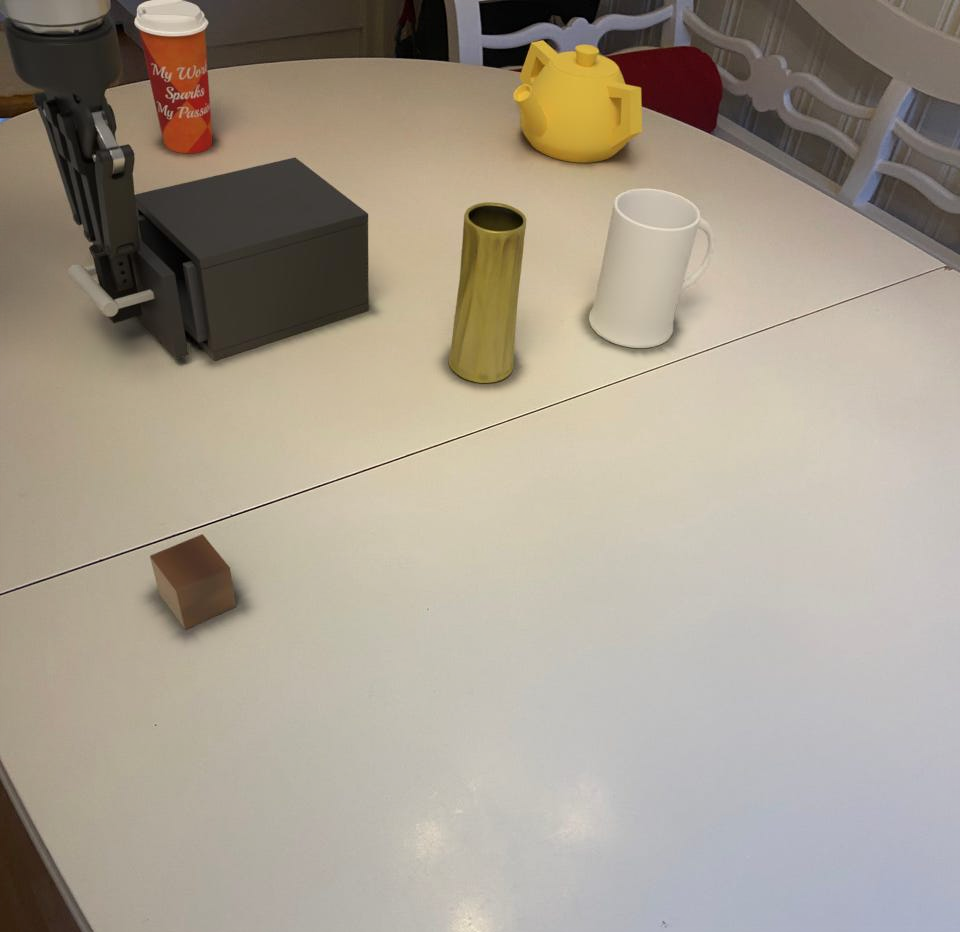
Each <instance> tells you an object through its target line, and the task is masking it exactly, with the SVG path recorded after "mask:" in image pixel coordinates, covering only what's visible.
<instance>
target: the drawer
mask: <svg viewBox="0 0 960 932" xmlns="http://www.w3.org/2000/svg"><path fill="white" fill-rule="evenodd" d="M137 224H138V235H139V245H140V250H139V251H137V252H133V253H130V257H131V261H132V266H133V271H134V276H135V281H136V285H137V290H138V293H136V294H132V295H129V296H125V297H122V298H118V299H115V300H113V299H112V298H111V297H110V296H109V295H108V294H107V292H106V291H105V290H104V289H103V288H102V287H101V286H100V285H99V282H98V281H97V280H96V279H95V278H94V277H93V276H96V275H97V273H96V269H95V265H94V264H92V265H88V266H85V267H84V266H83V265H82V264H79V263H73V264H72V265H71V266H70V267H69V268H68V275H69V277H70V278H71V280H73V282H74V283H75V284H76V285H77V286H78V287H79V288H80V289H81V291H83V292H84V294H85V295H86V296H87V297H88V298H89V299H90V301H91V302H92V303H93V304H94V305H95V306H96V307H97V308H98V310H100V312H101V313H102V314H103V315H104V316H105V317H107V318H109V317H112V316H114V315H116V314H117V312H118V309H120V308H123V307H127V306H130V305H134V304H137V303H140V305H141V310H142V314H143V315H140V316H137V317H136V318H138V320H140V321H141V323H143V324H144V326H145V327H146V328H147V329H148V330H149V331H150V332H151V333H152V335H154V336H155V338H157V340H158V341H159V342H160V343H161V344H162V346H163V347H165V348H166V349H167V351H168V352H169V353H170V354H171V355H172V356H173V357H174V358H175V359H176V360H178V359H182V358H184V357H188V356H189V348H188V343H187V337H186V331H185V330H184V328H185V329H186V330H187V331H188V332H189V333H190V334H191V335H192V336H193V337H194V338H195V339H196V340H197V341H198V342H202V341H205V340H207V333H206V326H205V320H204V313H203V306H202V300H201V293H200V286H199V280H198V273H197V265H196V264H195V263H194V262H193V261H192V260H191V259H190V258H189V257H188V256H187V255H186V254H185V253H184V252H182V251H181V250H180V249H179V248H178V247H177V246H176V245H175V244H174V243H173V242H172V241H171V240H170V239H169V238H168V237H167V236H166V235H165V234H164V233H163V232H162V231H161V230H160V229H159V228H157V227H156V226H155V225H154V224H153V223H152V222H151V221H150V220H149V219H148V218H147V217H146V216H145V215H140V216H137Z"/></svg>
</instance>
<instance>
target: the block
mask: <svg viewBox="0 0 960 932" xmlns="http://www.w3.org/2000/svg"><path fill="white" fill-rule="evenodd" d="M149 559H150V562H151V567H152V570H153V574H154V578H155V582H156V586H157V589H158V594H159V595H158V596H160V597H161V599H162V600H163V602H164V603H165V604H166V606H167V607H168V608H169V610H170V612H172V614H173V615H174V616H175V618H176V619H177V620H178V622H179V623H180V625H181V626H182V627H183V629H184V630H187V629H190V628H192V627H194V626H196V625H199V624H200V623H203V622H205V621H207V620H209V619H212V618H214V617H216V616H218V615H221V614H222V613H225V612H227V611H229V610H232V609H233V608H235V607H237V602H236V596H235V590H234V584H233V578H232V572H231V567H230V565H228V563H227V562H226V561H225V559H224V558H223V557H222V556H221V555H220V553H219V552H218V551H217V549H216V548H214V546H213V544H211V542H210V541H209V540H208V538H206V536H205V535H204V534H202V533H201V534H199V535H197V536H194V537H192V538H189V539H187V540H185V541H181V542H179V543H177V544H175V545H172V546H170V547H167V548H166V549H165V548H164V549H162V550H160V551H158V552H155V553H153V554H150V556H149Z"/></svg>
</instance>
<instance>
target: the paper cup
mask: <svg viewBox="0 0 960 932" xmlns="http://www.w3.org/2000/svg"><path fill="white" fill-rule="evenodd" d="M134 25H135V27H136V28H137V29H138V32H139V36H140V41H141V45H142V51H143V55H144V59H145V65H146V69H147V73H148V74H147V75H148V78H149V82H150V88H151V92H152V96H153V101H154V105H155V110H156V115H157V119H158V124H159V127H160V132H161V137H162V140H163V143H164V146H165V147H166V149H168V150H170V151H172V152H175V153H179V154H196V153H202V152H205V151H207V150H209V149H210V148H211V147H212V145H213V132H212V131H213V129H212V114H211V112H212V111H211V97H210V84H209V83H210V82H209V70H208V56H207V55H208V54H207V42H206V40H207V39H206V28H207V27H208V25H209V20H208V19H207V18H206V17H205V13H204V12H203V11H202V10H201V8H200V7H199V6H198V5H197V4H195V3H192V2H190V1H187V0H148V1H144V2H142V3H140V4H139V5H138V6H137V8H136V17H135V18H134Z"/></svg>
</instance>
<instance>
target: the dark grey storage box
mask: <svg viewBox="0 0 960 932" xmlns="http://www.w3.org/2000/svg"><path fill="white" fill-rule="evenodd" d="M135 203H136V214H137V216H140V215H145V216H146V217H147V218H148V219H149V220H150V221H151V222H152V223H153V224H154V225H155V226H156V227H157V228H159V229H160V230H161V231H162V232H163V233H164V234H165V235H166V236H167V237H168V238H169V239H170V240H171V241H172V242H173V243H174V244H175V245H176V246H177V247H178V248H179V249H180V250H181V251H182V252H184V253H185V254H186V255H187V256H188V257H189V258H190V259H191V260H192V261H193V262H194V263H195V264H196V265H197V273H198V280H199V286H200V293H201V300H202V306H203V313H204V320H205V326H206V333H207V340H205V341H202V342H198V341H197V340H196V339H195V338H194V337H193V336H192V335H191V334H190V333H189V332H188V331H187V330H186V329H185V328H184V331H185V333H187V334H188V335H189V336H190V338H192V339H193V340H194V341H195V342H196V343H197V344H198V346H199V347H200V348H201V349H202V350H203V351H204V352H205V353H207V355H208V356H209V357H210V358H211V359H212V360H213V361H214V362H215V361H219V360H222V359H225V358H227V357H230V356H234V355H236V354H240V353H243V352H246V351H249V350H252V349H254V348H255V349H256V348H258V347H261V346H264V345H267V344H270V343H273V342H277V341H280V340H282V339H286V338H288V337H289V338H290V337H292V336H295V335H298V334H301V333H304V332H307V331H310V330H313V329H316V328H319V327H322V326H326V325H328V324H332V323H335V322H338V321H341V320H344V319H346V318H350V317H353V316H357V315H359V314H362V313H366V312H368V311H369V310H370V309H369V307H370V305H369V304H370V303H369V300H370V299H369V296H370V295H369V213H368V212H367V211H365V210H364V209H363V208H362V207H360V206H359V205H358V204H356V202H354V201H352V200H351V199H350V198H348V197H347V196H346V195H345V194H343V193H342V192H341V191H340V190H338V189H337V188H336V187H334V186H333V185H332V184H331V183H329V182H328V181H327V180H326V179H324V178H323V177H322V176H320V175H319V174H317V172H315V171H313V170H312V169H311V168H310V167H308V165H306V164H305V163H303V162H302V161H301V160H299V158H297V157H291V158H286V159H281V160H278V161H277V160H276V161H273V162H269V163H265V164H260V165H256V166H251V167H247V168H242V169H239V170H235V171H231V172H225V173H221V174H216V175H214V176H208V177H203V178H200V179H195V180H191V181H187V182H182V183H179V184H173V185H170V186H165V187H161V188H157V189H153V190H148V191H144V192H140V193H139V192H138V193H135Z"/></svg>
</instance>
